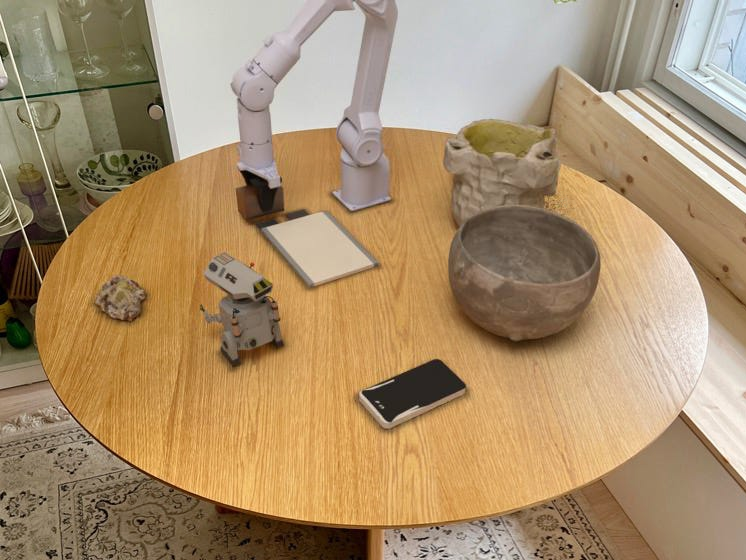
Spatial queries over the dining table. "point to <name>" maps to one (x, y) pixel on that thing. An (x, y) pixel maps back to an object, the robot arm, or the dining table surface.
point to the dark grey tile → (266, 223)
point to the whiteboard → (318, 248)
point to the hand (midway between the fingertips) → (261, 204)
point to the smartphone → (411, 393)
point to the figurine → (243, 307)
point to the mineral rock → (121, 298)
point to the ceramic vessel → (500, 166)
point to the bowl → (523, 270)
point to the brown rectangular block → (256, 202)
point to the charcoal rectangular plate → (297, 214)
